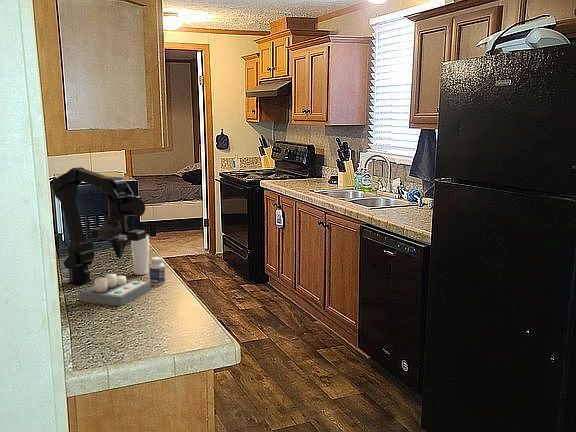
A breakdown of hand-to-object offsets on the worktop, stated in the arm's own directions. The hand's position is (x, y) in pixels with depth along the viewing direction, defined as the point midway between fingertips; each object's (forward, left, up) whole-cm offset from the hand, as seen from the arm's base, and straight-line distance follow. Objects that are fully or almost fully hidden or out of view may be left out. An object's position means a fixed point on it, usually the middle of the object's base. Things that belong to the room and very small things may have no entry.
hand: (119, 257), depth 190 cm
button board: (+2, -5, -12) cm, 13 cm away
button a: (0, -11, -9) cm, 14 cm away
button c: (0, 0, -11) cm, 11 cm away
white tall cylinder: (-5, +22, -12) cm, 25 cm away
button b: (0, -5, -9) cm, 10 cm away
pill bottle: (+8, +12, -12) cm, 19 cm away
